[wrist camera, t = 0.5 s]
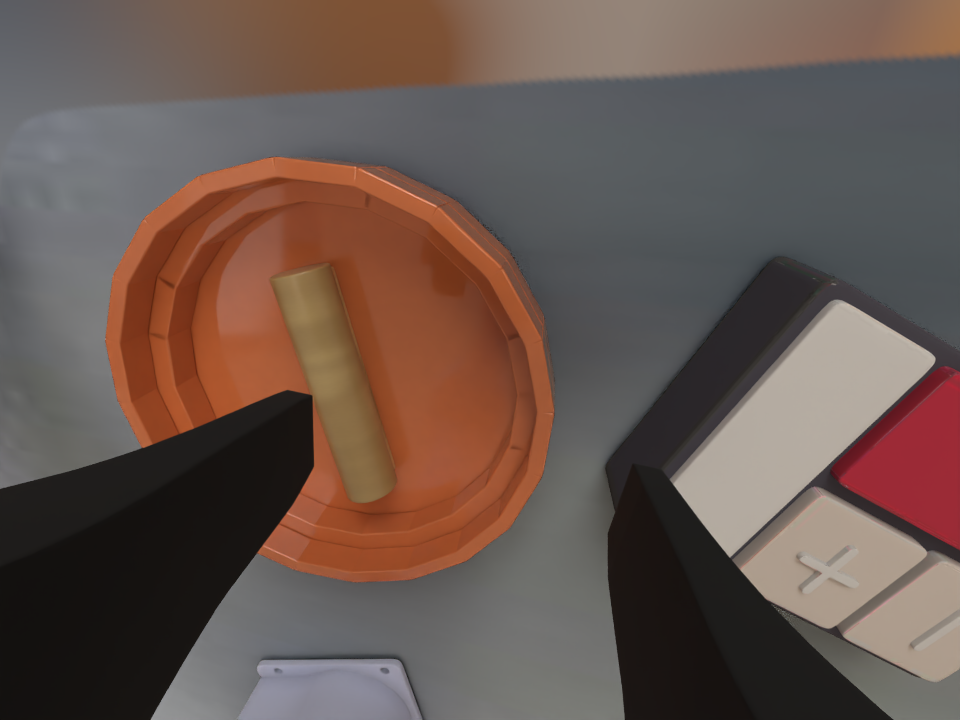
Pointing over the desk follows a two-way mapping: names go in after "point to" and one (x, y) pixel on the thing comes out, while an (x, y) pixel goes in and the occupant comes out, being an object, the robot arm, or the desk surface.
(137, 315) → the bowl
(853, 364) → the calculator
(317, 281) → the cylinder
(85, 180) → the desk surface
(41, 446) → the desk surface
